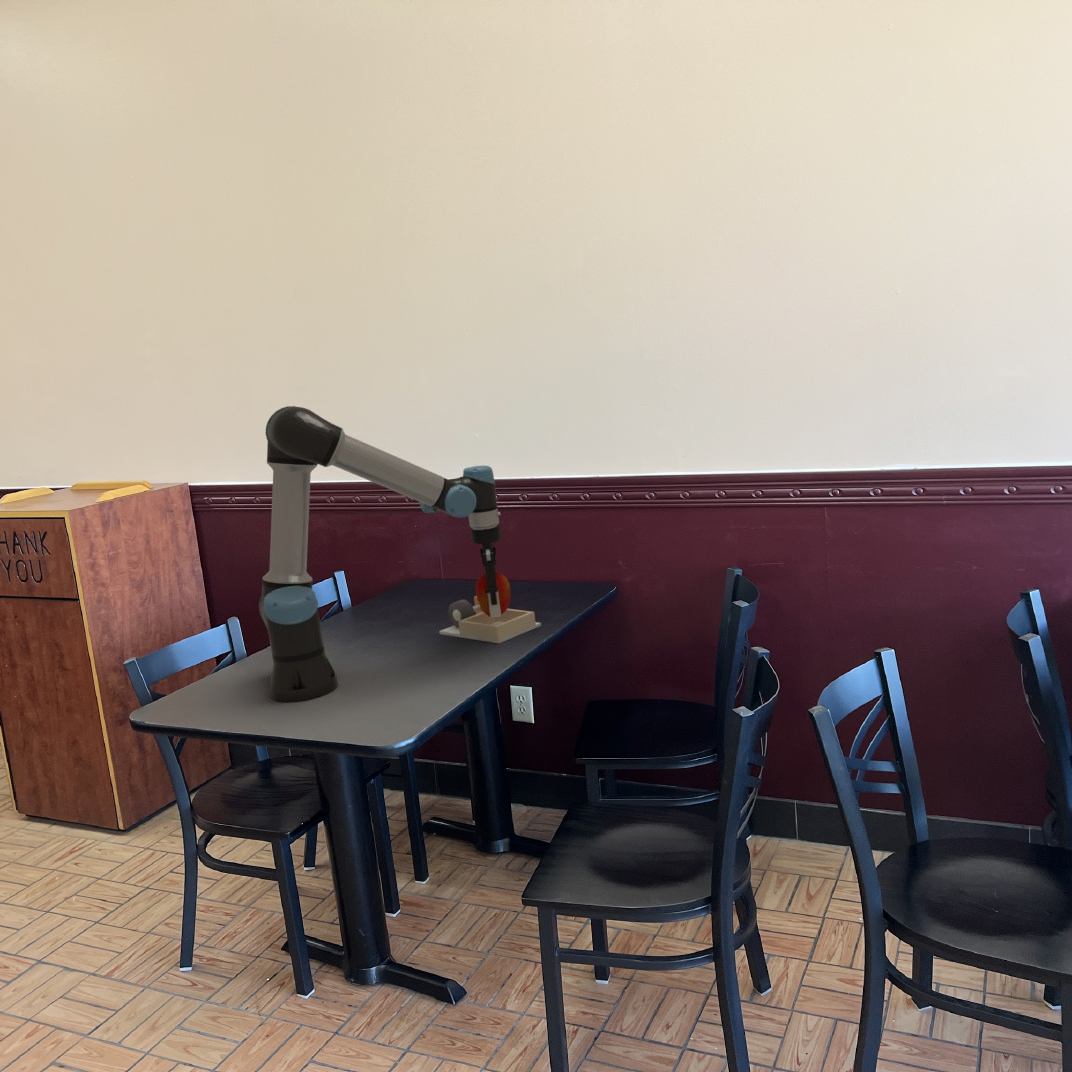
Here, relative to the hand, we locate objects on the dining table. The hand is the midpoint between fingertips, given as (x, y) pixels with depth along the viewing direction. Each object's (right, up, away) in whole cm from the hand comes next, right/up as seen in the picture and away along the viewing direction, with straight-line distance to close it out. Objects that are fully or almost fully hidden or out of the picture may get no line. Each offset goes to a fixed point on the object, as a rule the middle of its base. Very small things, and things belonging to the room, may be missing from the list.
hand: (495, 611), depth 252 cm
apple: (0, -1, 0) cm, 1 cm away
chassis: (-2, -5, +4) cm, 7 cm away
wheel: (-7, -4, +9) cm, 12 cm away
